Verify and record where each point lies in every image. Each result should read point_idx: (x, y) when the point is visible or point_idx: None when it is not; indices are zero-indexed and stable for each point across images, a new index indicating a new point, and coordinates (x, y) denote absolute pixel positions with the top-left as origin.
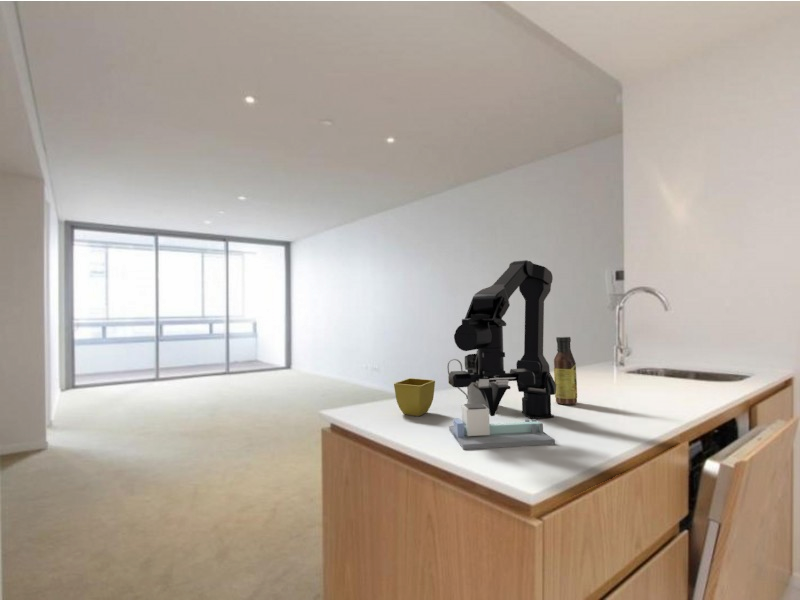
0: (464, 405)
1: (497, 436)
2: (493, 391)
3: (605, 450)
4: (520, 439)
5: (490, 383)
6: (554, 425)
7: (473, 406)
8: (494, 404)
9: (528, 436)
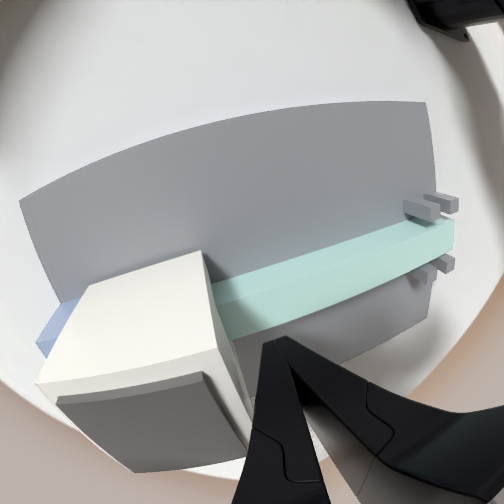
0: (64, 404)
1: (267, 339)
2: (377, 489)
3: (465, 317)
4: (343, 348)
5: (477, 497)
6: (466, 114)
7: (153, 453)
8: (319, 438)
9: (379, 310)
